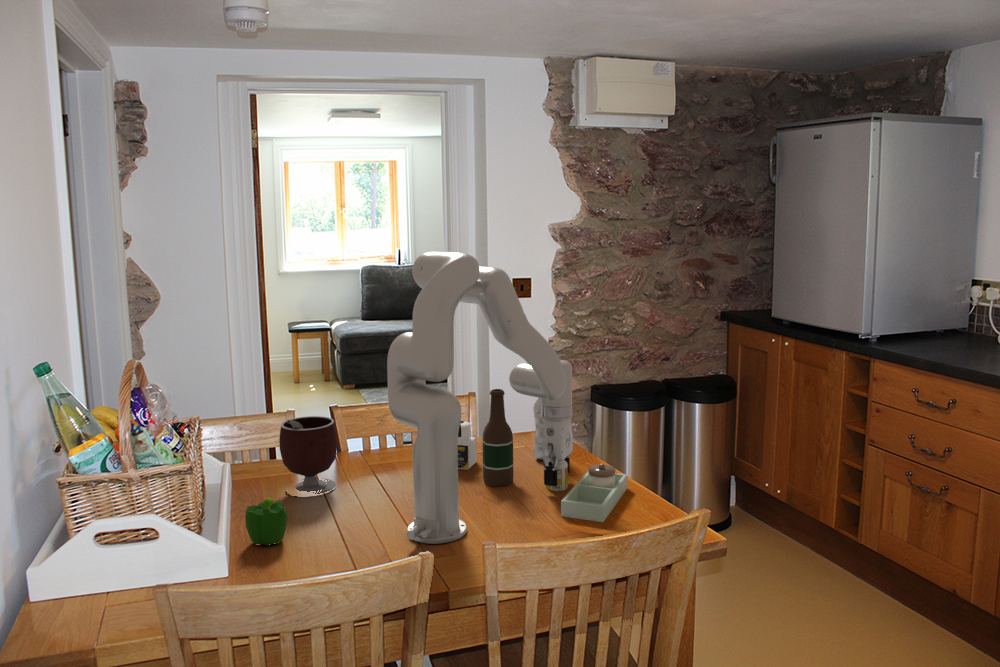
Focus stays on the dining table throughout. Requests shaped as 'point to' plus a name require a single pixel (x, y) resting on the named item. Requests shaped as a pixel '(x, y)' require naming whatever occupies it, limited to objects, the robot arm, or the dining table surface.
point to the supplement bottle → (560, 476)
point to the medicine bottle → (466, 446)
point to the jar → (602, 476)
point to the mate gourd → (309, 450)
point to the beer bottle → (497, 444)
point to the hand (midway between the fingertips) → (557, 478)
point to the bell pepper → (266, 522)
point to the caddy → (592, 499)
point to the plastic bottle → (538, 430)
